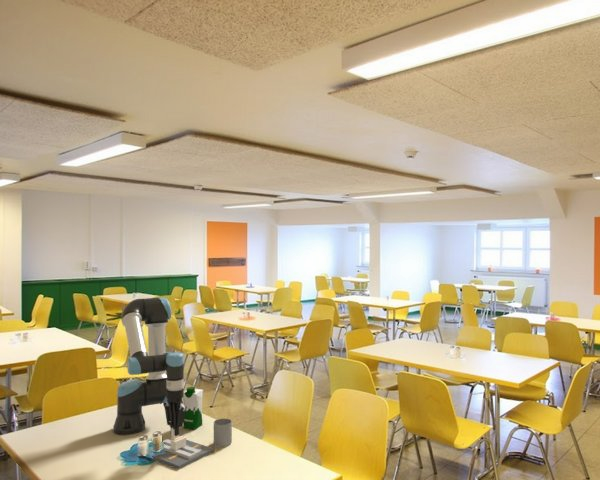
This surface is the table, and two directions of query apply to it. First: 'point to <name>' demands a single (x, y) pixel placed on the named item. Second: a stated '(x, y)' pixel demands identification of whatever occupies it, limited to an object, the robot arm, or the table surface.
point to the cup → (222, 432)
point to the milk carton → (192, 408)
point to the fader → (178, 443)
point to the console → (182, 454)
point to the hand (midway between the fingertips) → (174, 442)
